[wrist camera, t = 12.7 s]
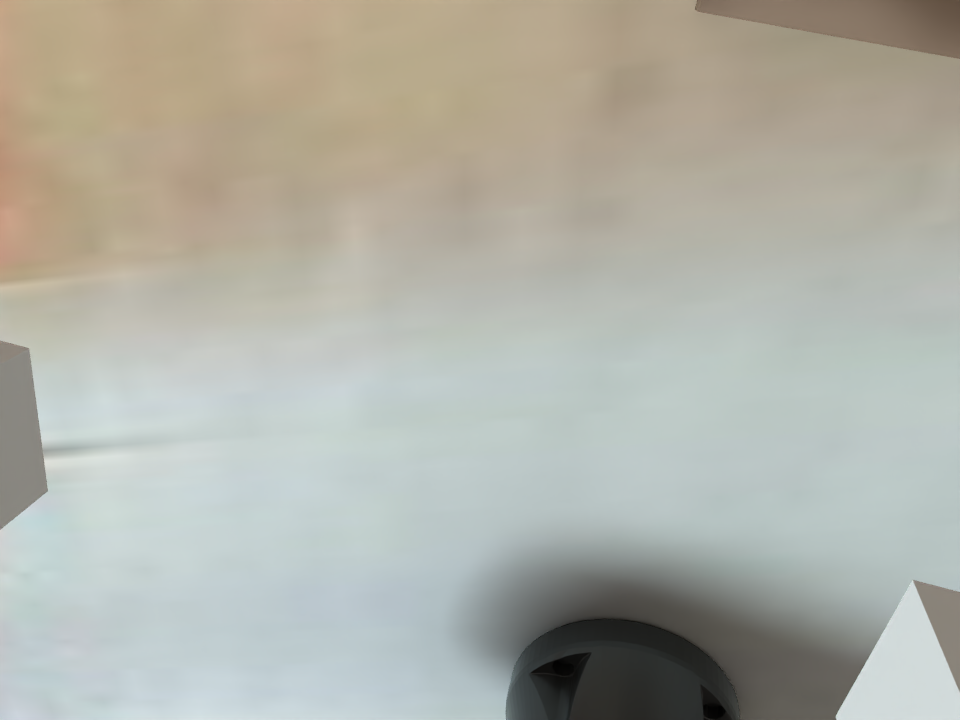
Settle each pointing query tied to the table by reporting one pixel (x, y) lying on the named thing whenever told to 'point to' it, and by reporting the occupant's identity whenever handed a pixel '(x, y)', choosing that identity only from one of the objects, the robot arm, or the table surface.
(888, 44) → the riser block
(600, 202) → the table surface
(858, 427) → the table surface
